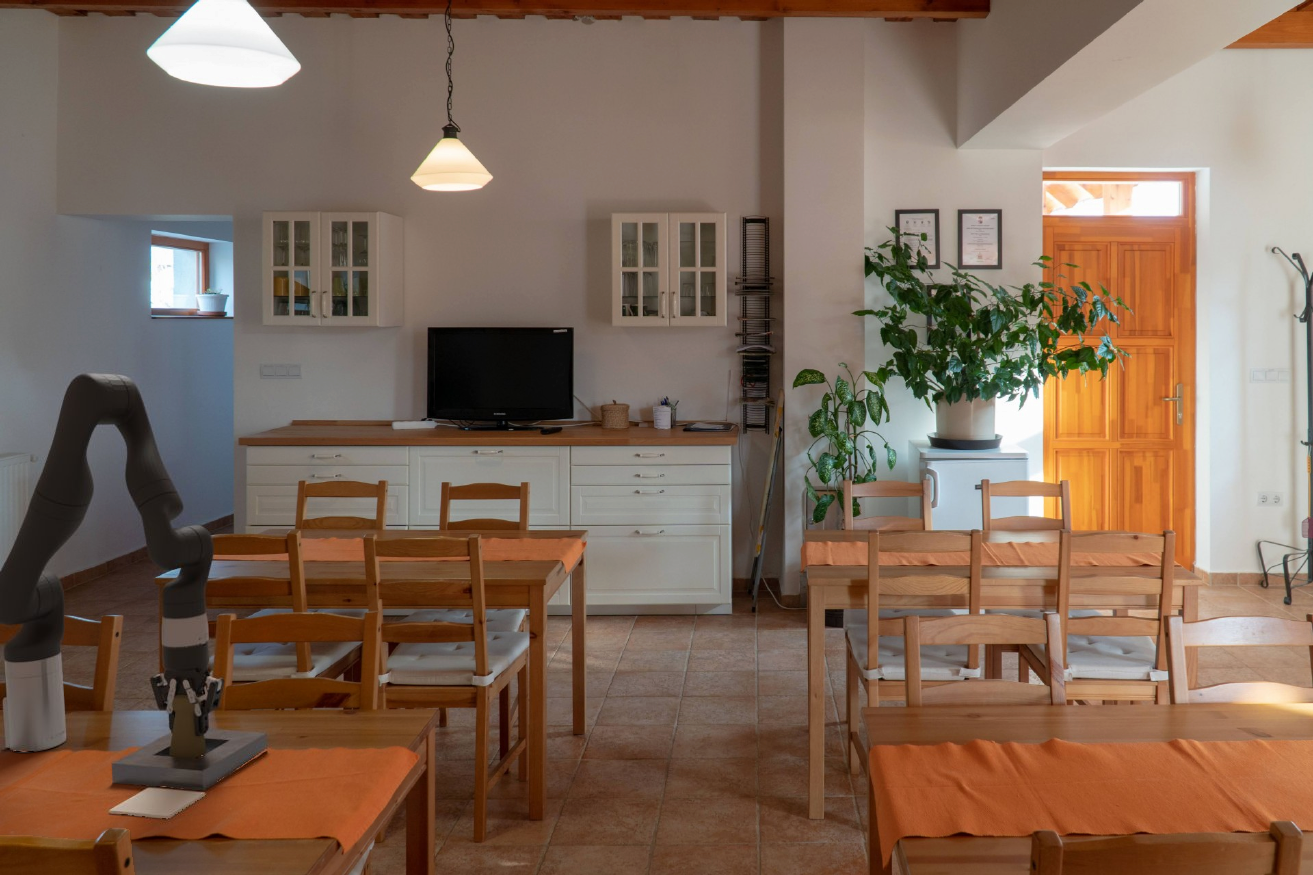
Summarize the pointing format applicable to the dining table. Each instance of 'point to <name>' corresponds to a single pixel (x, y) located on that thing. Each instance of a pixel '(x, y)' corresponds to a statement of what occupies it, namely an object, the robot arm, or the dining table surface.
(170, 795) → the pad
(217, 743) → the frame
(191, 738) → the cork
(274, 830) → the dining table surface
